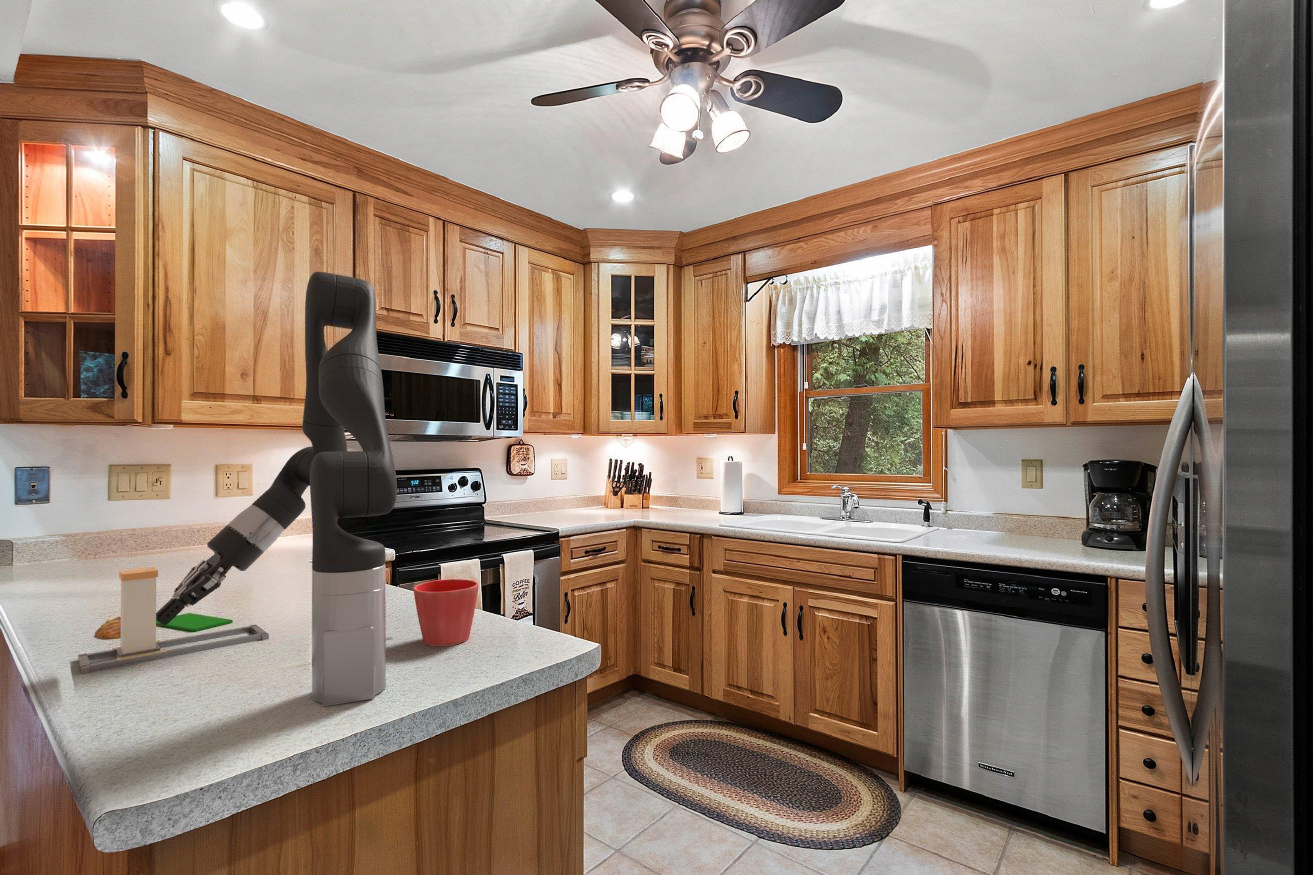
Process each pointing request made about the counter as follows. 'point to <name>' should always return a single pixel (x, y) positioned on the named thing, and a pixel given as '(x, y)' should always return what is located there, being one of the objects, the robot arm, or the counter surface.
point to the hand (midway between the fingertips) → (158, 621)
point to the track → (137, 658)
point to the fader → (138, 612)
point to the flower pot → (446, 610)
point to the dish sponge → (194, 622)
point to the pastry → (110, 629)
